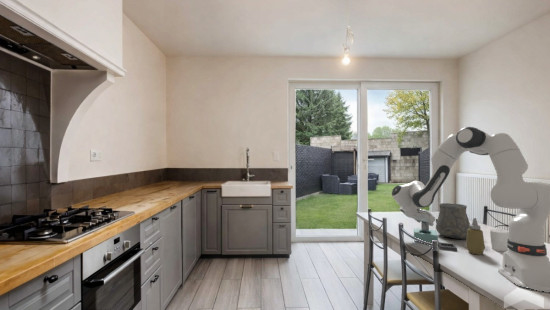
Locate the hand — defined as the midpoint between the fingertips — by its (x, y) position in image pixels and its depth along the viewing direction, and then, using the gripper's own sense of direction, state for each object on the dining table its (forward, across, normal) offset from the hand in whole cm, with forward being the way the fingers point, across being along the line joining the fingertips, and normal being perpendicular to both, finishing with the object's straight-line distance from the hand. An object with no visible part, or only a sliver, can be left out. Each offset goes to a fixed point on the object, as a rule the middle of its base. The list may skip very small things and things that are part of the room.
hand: (425, 223), depth 168 cm
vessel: (+22, +1, -8) cm, 24 cm away
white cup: (+24, -25, -10) cm, 36 cm away
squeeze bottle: (+12, -26, +3) cm, 28 cm away
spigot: (+7, 0, +7) cm, 10 cm away
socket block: (+7, 0, +7) cm, 10 cm away
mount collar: (+7, -15, +7) cm, 18 cm away
